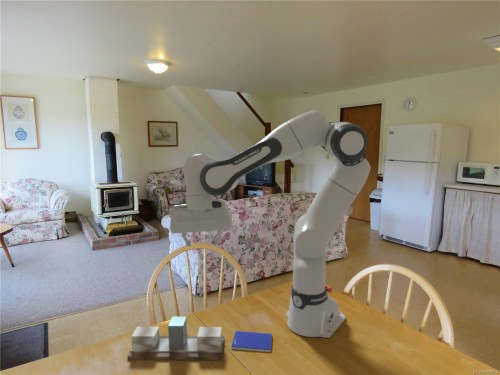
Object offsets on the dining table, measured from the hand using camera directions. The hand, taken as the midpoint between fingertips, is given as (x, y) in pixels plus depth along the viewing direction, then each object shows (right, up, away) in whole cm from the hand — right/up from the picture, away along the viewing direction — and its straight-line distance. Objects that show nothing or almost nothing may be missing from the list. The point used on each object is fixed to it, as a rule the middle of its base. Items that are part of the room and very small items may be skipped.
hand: (202, 244), depth 105 cm
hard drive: (+16, -32, -2) cm, 36 cm away
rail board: (-7, -32, -6) cm, 33 cm away
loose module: (-7, -30, -6) cm, 32 cm away
